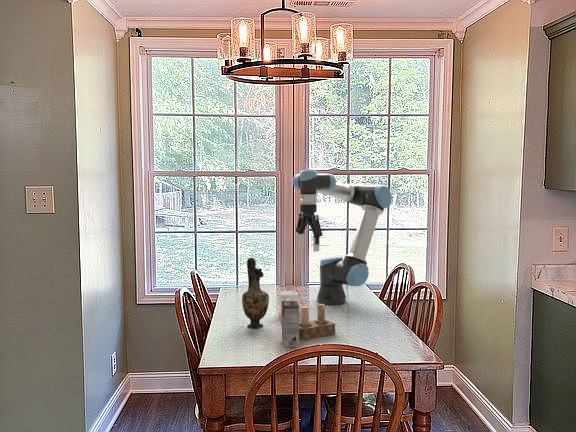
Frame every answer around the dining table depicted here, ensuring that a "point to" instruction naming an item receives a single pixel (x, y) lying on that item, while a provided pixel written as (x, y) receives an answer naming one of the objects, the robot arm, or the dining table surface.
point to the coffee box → (290, 323)
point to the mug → (288, 297)
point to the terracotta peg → (304, 316)
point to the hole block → (316, 330)
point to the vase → (254, 296)
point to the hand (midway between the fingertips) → (308, 249)
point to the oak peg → (321, 314)
